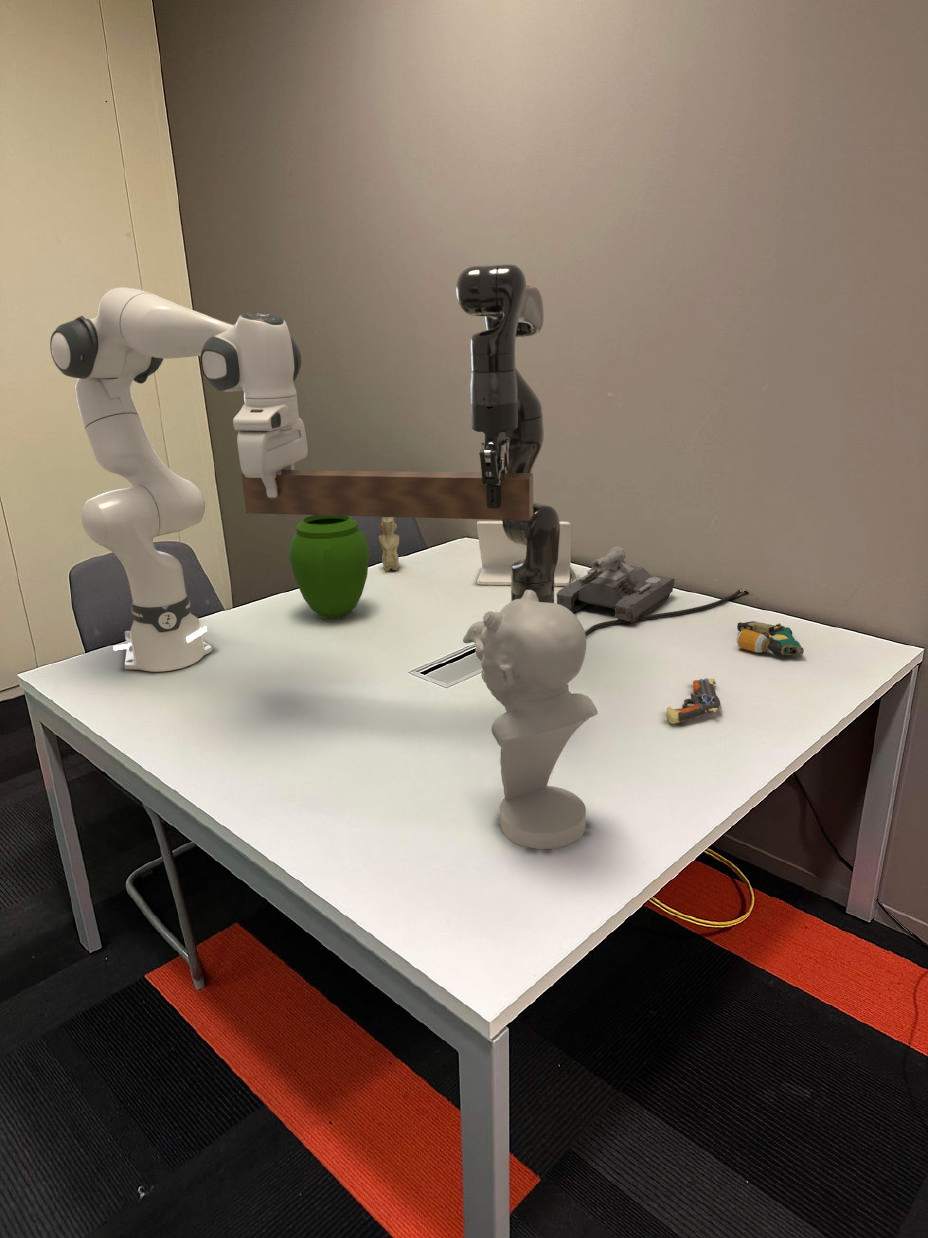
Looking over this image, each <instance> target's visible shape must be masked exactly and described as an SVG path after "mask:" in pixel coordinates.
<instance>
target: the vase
mask: <svg viewBox="0 0 928 1238" xmlns="http://www.w3.org/2000/svg"><path fill="white" fill-rule="evenodd" d="M358 524H359V523H358V521H356V520H355V519H353V518H352V517H351V516H333V515H308V516H307V517H305V518H303V519H302V520H301V521H300V522H299V523H298V524H297V525H296V526H295V532H296V533H295V534H294V536H293V537H292V538H291V540H290V542H289V551H288V559H289V564H290V566H291V567H290V568H291V570H292V575H293V578H294V581H295V584H296V586H297V587H298V589H299V591H300V593H301V596H302V597H303V600H304V601H305V603H306V604H307V605H308V607H309V608H310V609H311V611H312V612H314V613H315V614H316V615H317V616H318V617H320V618H324V619H326V620H327V619H329V620H336V619H341V618H345V617H347V616H349V615H350V614H351V613H352V612H353V611H354V610H355V608H356V607H357V605H358V604H359V601H360V599H361V597H362V595H363V592H364V588H365V586H366V581H367V578H368V570H369V561H370V560H369V559H370V548H369V545H368V541H367V537H366V535H365V534H364V533H363V532H362V531H361V530H360V529H359V527H358Z"/></svg>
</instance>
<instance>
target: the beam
mask: <svg viewBox="0 0 928 1238" xmlns="http://www.w3.org/2000/svg"><path fill="white" fill-rule="evenodd" d="M489 477H494V473H491V472H489ZM275 481H276V484H277V486H279V492H280V495H279V496H277V497H275V498H269V497H268V496H267V491H266V487H265V485H264V483H263V481H262V479H261V478H249V477H245V475H244V474H243V473H241V483H242V492H243V499H244V506H245V513H246V514H264V515H298V516H313V515H333V516H349V517H373V518H374V517H376V518H377V517H378V518H382V517H385V518H389V517H393V518H410V519H411V518H415V519H416V518H417V519H453V520H455V519H456V520H486V521H502V520H525V521H530V519H531V517H532V515H533V502H534V473H532V472H531V473H501V484H500V493H501V506H500V507H499V508H488V507H487V492H486V486H485V484H483V482H482V472H474V471H473V472H467V471H466V472H465V471H463V472H461V471H403V470H402V471H401V470H398V471H395V470H394V471H393V470H381V471H380V470H329V469H327V470H326V469H323V470H322V469H294V470H281V469H280V470H278V471H276V478H275Z"/></svg>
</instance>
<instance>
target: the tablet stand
mask: <svg viewBox="0 0 928 1238" xmlns="http://www.w3.org/2000/svg"><path fill="white" fill-rule="evenodd" d="M476 531H477V537H478V544H479V551H480V557H481V558H480V559H481V570H480V573H479V575H478V577H477V580H476V581H477V582H476V584H478V585H484V586H485V585H486V586H487V585H489V586H490V585H491V586H511V567H512V564H513V563H515V562H516V561H519V560H522V559H525V558H526V549H527V546H524V545H521V544H517V543H514V542H512V541H510V540H509V539H508V538H507V537H506V535H505V532H504V529H503V523H502V520H477V522H476ZM571 560H572V558H571V522H569V521H560V537H559V552H558V562H557V565H556V568H555V572H554V587H556V586H557V587H566V586H567V585H569V584H570V580H571V579H570V578H571V565H572V564H571Z"/></svg>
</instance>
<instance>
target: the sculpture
mask: <svg viewBox="0 0 928 1238" xmlns="http://www.w3.org/2000/svg"><path fill="white" fill-rule="evenodd" d="M378 526H379V527H378V528H379V529H380V530H381V531H382V532H383V534H380V535H379V536H378V541H379V544H380V548H381V549H382V554H381V563H382V566H383V568H384V571H385V572H386V571H387V572H388V571H390V570H391V569H392V571H397V570H398V566H399V560H400V559H399V558H400V557H399V554H398V551H397V550H398V547H399V544H400V535H398V534H397V533H395V531H396V530H397V528H398V525H397V523H396V522H395V517H381V523H380V524H379V525H378Z"/></svg>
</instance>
